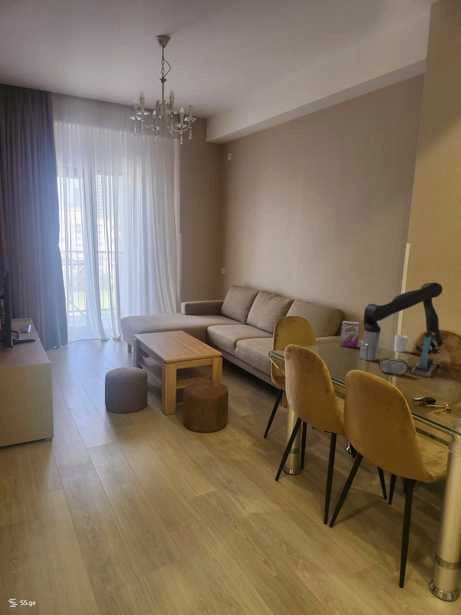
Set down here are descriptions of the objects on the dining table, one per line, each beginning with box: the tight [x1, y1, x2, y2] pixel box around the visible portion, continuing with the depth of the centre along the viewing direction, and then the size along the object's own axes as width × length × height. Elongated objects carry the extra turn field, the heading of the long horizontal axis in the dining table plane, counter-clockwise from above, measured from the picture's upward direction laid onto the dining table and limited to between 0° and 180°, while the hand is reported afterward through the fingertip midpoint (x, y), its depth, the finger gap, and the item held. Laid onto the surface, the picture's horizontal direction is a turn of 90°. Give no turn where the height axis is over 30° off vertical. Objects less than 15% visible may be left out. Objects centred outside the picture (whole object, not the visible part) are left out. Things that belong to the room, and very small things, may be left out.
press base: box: [409, 357, 439, 379], centre depth 245 cm, size 32×10×5 cm, turn 148°
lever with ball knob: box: [416, 329, 434, 371], centre depth 240 cm, size 12×6×22 cm, turn 148°
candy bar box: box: [339, 320, 361, 349], centre depth 285 cm, size 11×5×16 cm, turn 77°
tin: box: [378, 357, 409, 376], centre depth 232 cm, size 15×3×8 cm, turn 71°
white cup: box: [393, 334, 409, 353], centre depth 282 cm, size 8×8×10 cm
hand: (424, 351), depth 235 cm, fingers closed on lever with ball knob, 3 cm apart
